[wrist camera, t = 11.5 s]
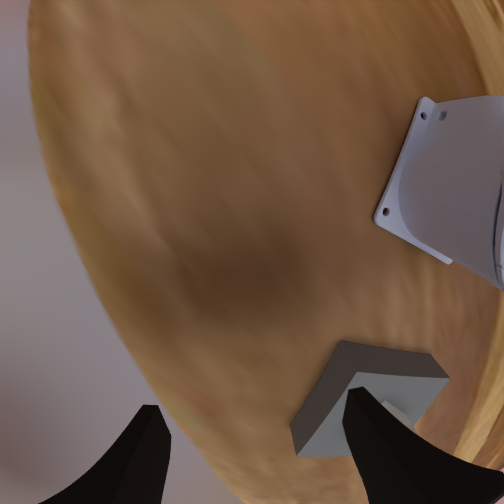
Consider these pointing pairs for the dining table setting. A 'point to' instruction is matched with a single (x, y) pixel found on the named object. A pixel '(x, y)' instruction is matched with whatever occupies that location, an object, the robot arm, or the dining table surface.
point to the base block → (375, 381)
